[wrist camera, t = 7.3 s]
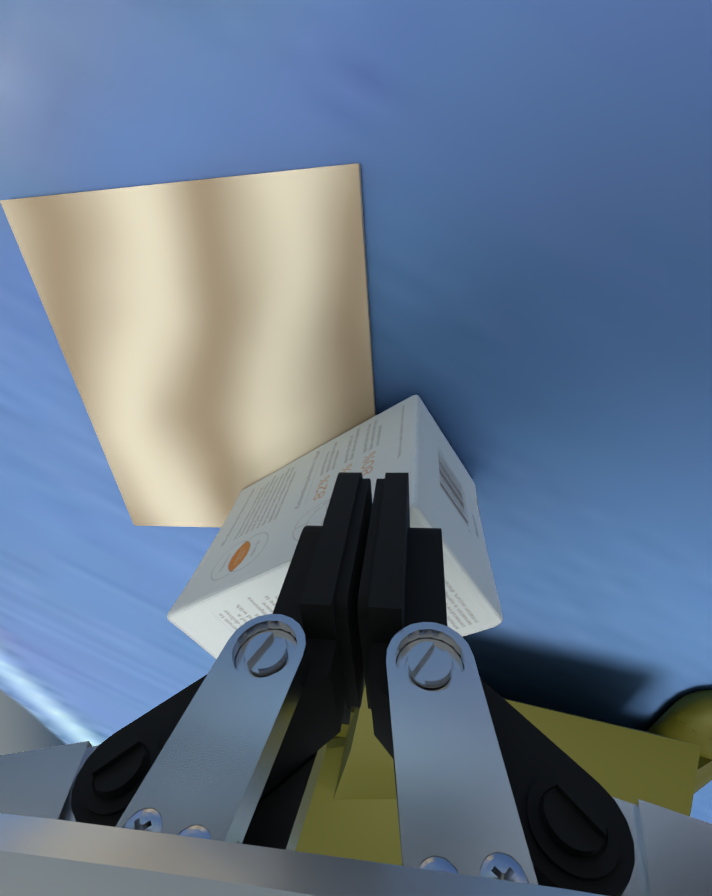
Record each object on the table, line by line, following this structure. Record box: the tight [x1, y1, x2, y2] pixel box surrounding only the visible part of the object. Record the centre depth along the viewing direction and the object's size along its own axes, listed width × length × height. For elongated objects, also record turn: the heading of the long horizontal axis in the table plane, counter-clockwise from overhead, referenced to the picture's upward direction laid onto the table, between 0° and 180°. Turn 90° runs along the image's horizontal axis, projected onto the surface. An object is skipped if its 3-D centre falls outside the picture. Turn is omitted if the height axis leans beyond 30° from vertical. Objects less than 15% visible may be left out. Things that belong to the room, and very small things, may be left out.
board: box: [0, 163, 376, 527], centre depth 20 cm, size 14×16×1 cm
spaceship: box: [295, 679, 712, 866], centre depth 31 cm, size 35×31×10 cm
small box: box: [167, 395, 503, 659], centre depth 18 cm, size 8×6×10 cm
